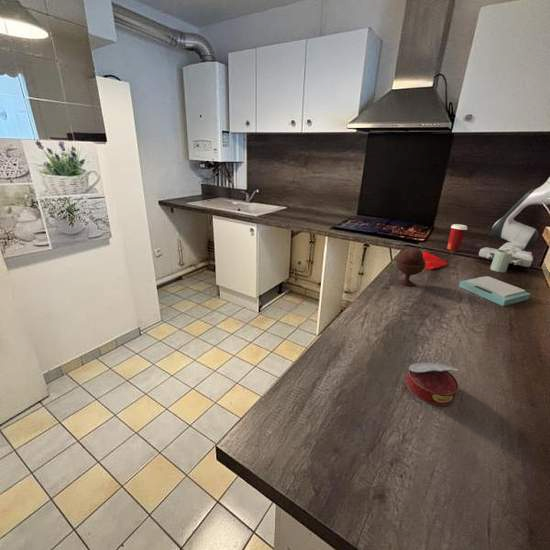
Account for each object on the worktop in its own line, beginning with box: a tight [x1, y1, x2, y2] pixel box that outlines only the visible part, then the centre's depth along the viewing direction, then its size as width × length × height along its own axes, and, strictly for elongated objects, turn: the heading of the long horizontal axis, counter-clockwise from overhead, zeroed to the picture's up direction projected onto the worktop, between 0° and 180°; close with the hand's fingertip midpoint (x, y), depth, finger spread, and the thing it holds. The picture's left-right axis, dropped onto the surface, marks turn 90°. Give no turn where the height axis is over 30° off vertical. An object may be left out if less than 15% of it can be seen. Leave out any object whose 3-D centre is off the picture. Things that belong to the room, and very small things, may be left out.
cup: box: [489, 250, 513, 273], centre depth 133 cm, size 6×6×9 cm
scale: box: [458, 275, 531, 307], centre depth 112 cm, size 17×15×3 cm
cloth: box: [422, 251, 448, 271], centre depth 142 cm, size 26×14×2 cm, turn 149°
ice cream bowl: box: [395, 248, 426, 287], centre depth 115 cm, size 11×11×15 cm
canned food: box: [405, 361, 460, 406], centre depth 64 cm, size 11×10×10 cm
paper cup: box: [446, 223, 468, 251], centre depth 158 cm, size 8×8×14 cm
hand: (501, 260), depth 133 cm, fingers open, 8 cm apart
